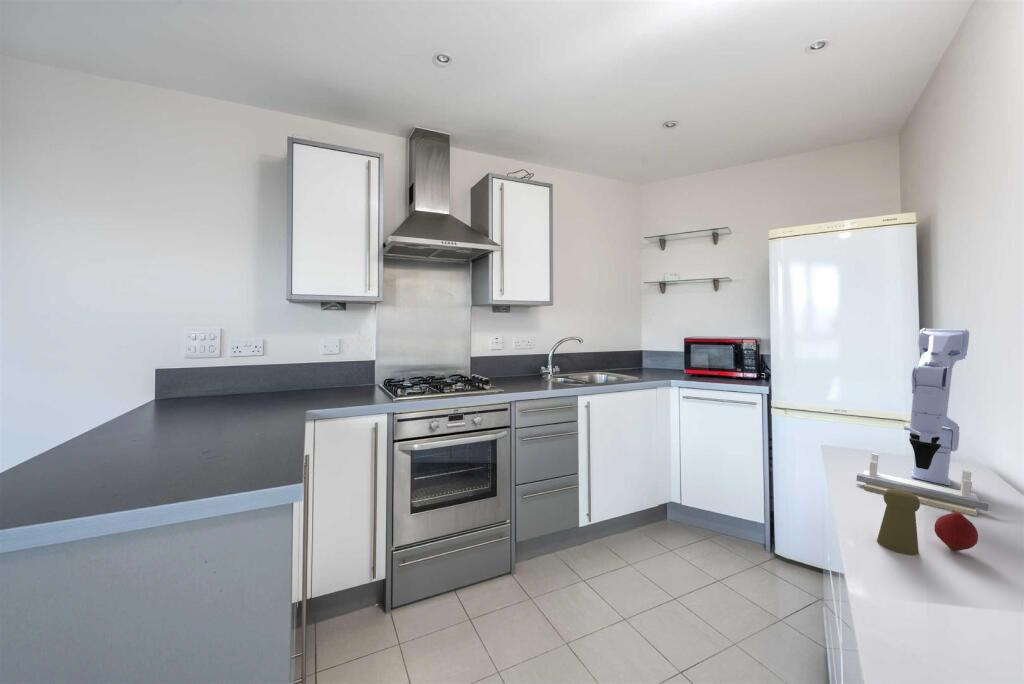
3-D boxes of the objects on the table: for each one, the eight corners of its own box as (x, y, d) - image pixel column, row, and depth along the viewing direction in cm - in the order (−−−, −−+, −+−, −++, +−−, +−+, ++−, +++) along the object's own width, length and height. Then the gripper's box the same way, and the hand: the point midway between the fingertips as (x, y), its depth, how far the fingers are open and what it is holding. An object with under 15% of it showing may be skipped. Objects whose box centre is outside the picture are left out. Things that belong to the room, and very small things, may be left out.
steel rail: (857, 479, 116) (857, 473, 116) (986, 508, 99) (987, 502, 99) (856, 480, 114) (856, 475, 114) (987, 511, 98) (988, 504, 98)
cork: (901, 540, 84) (906, 486, 83) (928, 556, 78) (933, 499, 77) (868, 537, 85) (873, 484, 84) (893, 553, 79) (898, 496, 78)
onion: (966, 547, 82) (970, 507, 82) (983, 562, 77) (988, 519, 77) (927, 539, 85) (930, 501, 84) (941, 553, 79) (945, 512, 79)
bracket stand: (864, 475, 122) (866, 451, 122) (975, 499, 107) (978, 473, 107) (862, 479, 119) (864, 455, 118) (977, 505, 104) (980, 477, 103)
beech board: (866, 482, 117) (867, 478, 117) (972, 506, 103) (972, 502, 103) (864, 489, 111) (864, 485, 111) (976, 516, 97) (976, 511, 97)
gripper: (905, 406, 114) (901, 455, 115) (905, 413, 104) (900, 467, 104) (942, 411, 109) (937, 462, 110) (945, 419, 99) (940, 475, 99)
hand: (922, 465), depth 107 cm, fingers open, 7 cm apart
